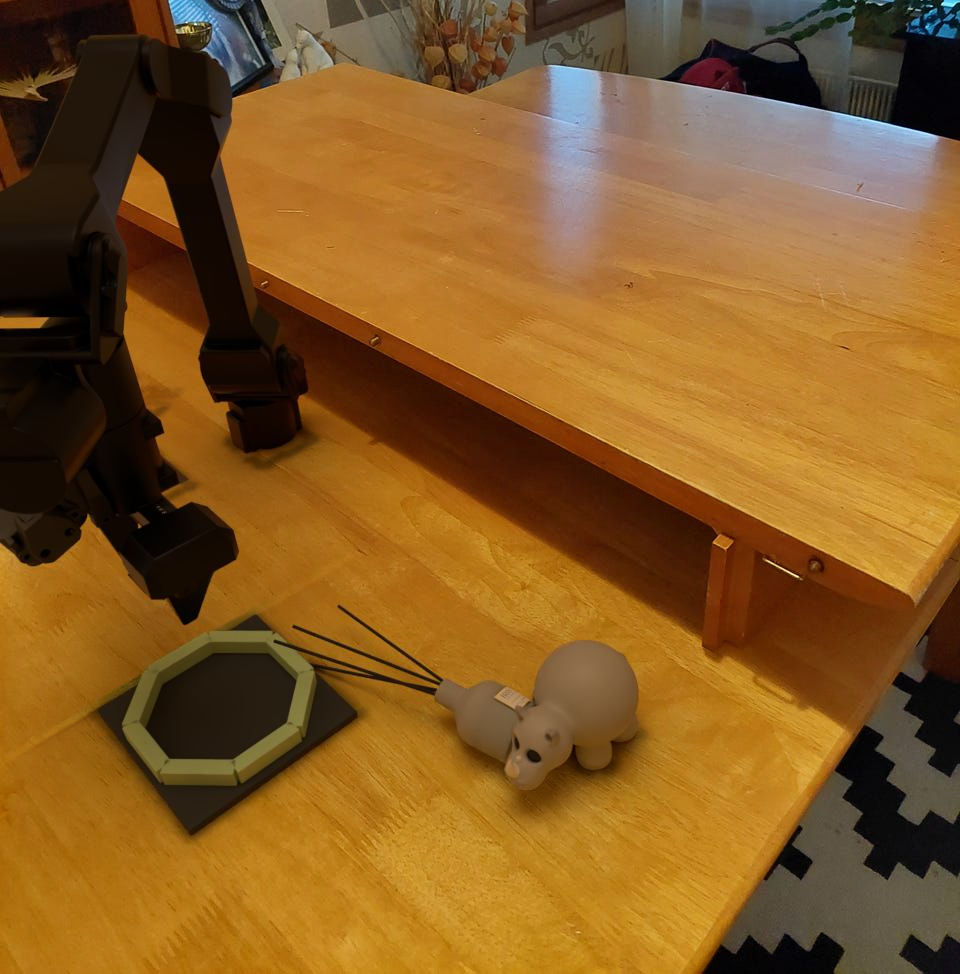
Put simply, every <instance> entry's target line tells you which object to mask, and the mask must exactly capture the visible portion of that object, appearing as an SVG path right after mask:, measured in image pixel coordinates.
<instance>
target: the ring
mask: <svg viewBox="0 0 960 974" xmlns="http://www.w3.org/2000/svg"><path fill="white" fill-rule="evenodd" d="M273 631H274V630H273ZM273 631H228V630H210V631H209V633H207V632H206V631H204V632H202V633H201V634H199V635H198V636H196V637H195V638H193V639H191V640H189V641H187V642H186V643H184V644H182V645H181V646H179V647H177V648H176V649H174V650H172V651H171V652H169V653H167V654H166V655H164V656H162V657H161V658H159V659H156V660H155V661H154V662H152V663H150V664H148V665H147V669H144V670H143V671H142V674H141V676H140V678H139V681H138V684H137V685H138V686H137V685H136V686H137V688H136V691H135V693H134V696H133V698H132V701H131V703H130V706H129V708H128V711H127V713H126V715H125V718H124V720H123V723H122V726H123V728H122V729H123V731H124V734H125V736H126V738H127V740H128V741H129V743H130V744H131V745H132V747H133V748H134V749H135V751H136V752H137V753H138V755H139V756H140V757H141V758H142V760H143V761H144V762H145V764H146V765H147V766H148V768H149V769H150V770H151V771H152V773H153V774H154V775H155V777H156V778H157V779H158V781H159V782H160V783H162V782H164V784H165V785H213V786H237V783H238V780H239V781H240V783H244V782H245V781H247V780H248V779H249V778H251V777H252V776H254V775H255V774H257V773H258V772H259V771H261V770H262V769H264V768H265V767H266V766H268V765H269V764H271V763H272V762H274V761H275V760H276V759H278V758H279V757H281V756H282V755H283V754H285V753H286V752H288V751H289V750H291V749H292V748H293V747H295V746H296V745H298V744H299V743H300V742H302V739H301V737H305V735H306V731H307V726H308V722H309V717H310V712H311V708H312V703H313V699H314V694H315V689H316V685H317V680H316V676H315V672H316V671H315V668H314V667H312V666H311V665H310V664H309V663H310V662H308V661H307V660H306V659H305V658H304V657H303V656H302V655H301V654H300V653H299V651H297V650H294V649H291V648H288V647H285V646H282V645H279V644H276V643H273V641H274V639H276V640H279V641H282V642H285V643H288V642H287V641H286V640H285V638H283V637H282V636H281V635H280V634H279V633H278V632H275V634H273ZM213 653H269V654H270V655H271V656H272V657H273V658H274V659H275V660H276V661H277V662H278V663H279V664H280V665H281V666H282V667H283V668H284V669H285V670H286V671H287V672H289V673H290V674H291V675H292V676H293V677H294V678H295V679H296V680H297V682H296V686H295V691H294V695H293V699H292V703H291V707H290V712H289V716H288V720H287V723H286V724H284V725H283V726H281V727H280V728H278V729H277V730H275V731H274V732H272V733H271V734H270V735H268V736H267V737H265V738H264V739H262V740H261V741H259V742H258V743H256V744H255V745H254V746H252V747H251V748H249V749H248V750H246V751H245V752H243V753H242V754H240V755H239V756H238V757H236V758H235V759H233V760H215V759H169V758H168V757H167V755H166V754H165V753H164V752H163V750H162V749H161V748H160V747H159V745H158V744H157V743H156V742H155V740H154V739H153V738H152V737H151V735H150V734H149V733H148V732H147V730H146V726H147V723H148V721H149V718H150V715H151V713H152V710H153V708H154V705H155V702H156V700H157V697H158V694H159V692H160V689H161V687H162V684H164V683H166V682H167V681H169V680H170V679H172V678H174V677H175V676H177V675H179V674H180V673H182V672H184V671H185V670H187V669H189V668H190V667H192V666H193V665H195V664H197V663H198V662H200V661H202V660H203V659H205V658H207V657H208V656H210V655H211V654H213Z"/></svg>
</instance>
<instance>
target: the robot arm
mask: <svg viewBox="0 0 960 974" xmlns="http://www.w3.org/2000/svg"><path fill="white" fill-rule="evenodd" d="M75 66H76V70H75V72H74V75H73V76H72V79H71V81H70V83H69V86H68V88H67V91H66V92H65V95H64V97H63V100H62V102H61V104H60V106H59V108H58V109H59V110H58V111H57V113H56V115H55V118H54V120H53V122H52V125H51V128H50V130H49V132H48V134H47V136H46V139H45V142H43V146H42V148H41V150H40V154H39V155H38V158H37V159H36V162H35V164H34V167H33V168H32V169H31V171H30V172H29V174H28V175H26V176H25V177H22V178H21V179H20V180H18V181H16V182H14V183H12V184H10V185H9V186H7V187H5V188H4V189H2V190H0V318H4V319H23V318H24V319H25V318H26V319H27V318H29V319H31V318H33V319H34V318H40V319H41V318H47V319H46V320H44V322H43V324H42V325H41V326H40V327H0V544H1V545H2V546H3V547H4V548H5V549H6V550H8V551H9V552H11V553H12V554H13V555H14V556H15V557H16V558H17V560H18V561H19V562H20V563H21V564H24V565H27V566H28V567H32V568H33V567H39V566H41V565H43V564H44V565H46V564H53V563H55V562H57V561H58V560H59V559H60V558H61V557H62V556H63V555H65V554H66V553H67V552H68V551H69V550H70V549H71V548H72V547H74V545H76V544H77V543H79V542H80V540H81V538H82V533H83V532H82V529H81V528H82V527H83V525H84V524H85V523H86V521H87V519H88V516H89V520H90V522H91V523H92V524H93V526H95V528H97V529H98V530H99V531H100V532H101V533H102V535H103V536H104V538H105V539H106V541H107V542H108V543H109V544H110V546H111V548H113V550H114V551H115V552H116V554H117V555H118V556H119V558H120V559H121V563H122V565H123V566H124V568H125V569H126V571H127V572H128V573H127V576H128V577H129V578H130V579H131V581H132V582H134V584H135V585H136V586H137V587H138V588H139V589H140V590H141V591H142V593H144V594H145V595H146V596H147V597H148V598H149V599H150V600H151V601H165V600H166V602H167V603H168V605H169V607H170V608H171V610H172V611H173V612H174V614H175V616H176V617H177V619H178V620H179V622H180V623H181V624H182V625H183V626H188V625H189V624H191V623H193V622H194V621H196V620H197V619H198V618H199V615H200V613H201V610H202V607H203V604H204V601H205V598H206V595H207V592H208V589H209V586H210V584H211V581H212V578H213V576H214V573H215V572H218V571H219V570H220V569H222V568H225V567H226V566H228V565H230V564H231V563H233V562H235V561H237V560H238V559H237V558H238V557H239V554H240V548H239V545H238V541H237V537H236V534H235V533H236V532H235V530H234V529H233V528H232V527H231V526H230V525H229V524H228V523H227V522H226V521H225V520H223V519H222V518H221V517H220V516H218V514H217V513H215V512H214V510H212V509H211V508H210V507H208V506H207V505H205V504H201V503H197V502H193V501H190V502H188V503H186V504H184V505H182V506H180V507H177V506H176V505H174V504H173V503H172V502H171V501H170V500H169V499H168V498H167V497H166V496H165V495H163V493H164V492H166V491H168V490H167V489H169V488H171V487H173V486H175V485H177V484H179V480H178V477H177V473H176V471H175V470H174V469H173V468H171V467H170V466H169V465H168V464H167V463H166V462H165V461H164V460H162V458H161V452H160V449H159V445H158V442H157V437H159V436H162V435H164V434H165V429H164V426H163V423H162V420H161V419H160V418H159V417H158V416H157V415H155V414H154V413H153V412H152V411H150V409H148V408H147V405H146V403H145V399H144V397H143V393H142V389H141V386H140V383H139V380H138V376H137V373H136V370H135V367H134V363H133V360H132V357H131V353H130V350H129V346H128V344H127V340H126V337H125V334H124V331H125V318H126V312H127V310H128V302H127V291H128V290H127V289H128V275H129V263H128V252H129V251H128V249H127V247H126V245H125V243H124V241H123V237H122V236H121V234H120V232H119V230H118V228H117V226H116V222H117V217H118V212H119V208H120V206H121V203H122V199H123V196H124V194H125V191H126V189H127V186H128V182H129V179H130V177H131V173H132V170H133V168H134V165H135V162H136V159H137V157H138V156H139V157H141V159H142V160H144V161H145V162H146V164H148V165H149V166H151V168H153V170H155V171H156V172H157V173H158V174H159V175H160V176H161V177H162V178H163V180H164V183H165V187H166V189H167V191H168V192H167V193H168V196H169V200H170V202H171V205H172V209H173V212H174V215H175V219H176V222H177V224H178V228H179V231H180V235H181V238H182V241H183V245H184V247H185V248H184V249H185V250H186V254H187V257H188V260H189V263H190V268H191V270H192V273H193V276H194V280H195V283H196V286H197V290H198V293H199V296H200V299H201V302H202V305H203V309H204V312H205V316H206V318H207V323H208V327H207V329H206V332H205V334H204V337H203V340H202V343H201V345H200V348H199V354H198V357H197V360H198V363H199V370H200V371H199V372H200V374H201V378H202V380H203V382H204V385H205V386H206V388H207V390H208V393H209V395H210V396H211V399H212V401H213V403H214V404H219V403H227V406H228V411H226V412H225V417H226V422H227V425H228V428H229V429H228V430H229V434H230V438H231V441H232V445H234V446H235V447H236V448H237V449H239V450H240V451H241V452H243V453H244V454H250V453H255V452H258V451H260V450H262V451H263V450H264V451H265V450H266V451H267V450H273V449H278V448H280V447H283V446H285V445H288V444H289V443H290V442H291V441H292V440H294V439H295V437H296V436H297V433H298V432H299V431H300V430H302V429H303V428H304V427H303V426H304V425H303V421H302V417H301V410H300V405H299V398H300V396H303V395H305V394H307V393H308V392H309V383H308V379H307V369H306V367H305V359H304V358H303V356H302V355H301V354H299V352H298V351H297V350H296V349H295V348H294V347H292V345H288V342H287V338H286V335H285V332H284V330H283V326H282V323H281V322H280V320H278V318H276V317H275V316H274V315H272V314H271V312H269V311H268V310H267V309H266V308H265V307H264V306H262V305H261V304H260V303H259V301H258V298H257V294H256V290H255V286H254V282H253V279H252V274H251V271H250V267H249V263H248V259H247V256H246V252H245V248H244V247H245V246H244V244H243V240H242V236H241V232H240V228H239V225H238V220H237V217H236V213H235V209H234V205H233V201H232V197H231V194H230V189H229V185H228V182H227V178H226V174H225V170H224V166H223V162H222V159H221V158H222V152H223V149H224V146H225V143H226V140H227V138H228V135H229V132H230V129H231V127H232V124H233V119H232V111H233V91H232V89H233V88H232V83H231V80H230V77H229V73H228V71H227V69H226V68H225V67H224V66H223V65H222V64H220V61H219V60H218V59H217V58H216V57H212V56H211V55H210V54H209V52H208V51H205V50H189V49H185V48H181V47H176V46H173V45H169V44H166V43H165V42H164V41H162V40H160V39H159V38H157V37H149V36H148V35H147V34H146V33H141V34H139V33H137V34H136V33H135V34H100V35H99V34H98V35H89V36H88V37H87V39H81V40H79V42H78V43H77V45H76V49H75ZM179 485H180V484H179ZM177 486H178V485H177ZM175 487H176V486H175ZM173 488H174V487H173ZM171 489H172V488H171ZM165 490H166V491H165ZM169 490H170V489H169ZM163 491H164V492H163ZM139 526H140V527H139Z"/></svg>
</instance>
